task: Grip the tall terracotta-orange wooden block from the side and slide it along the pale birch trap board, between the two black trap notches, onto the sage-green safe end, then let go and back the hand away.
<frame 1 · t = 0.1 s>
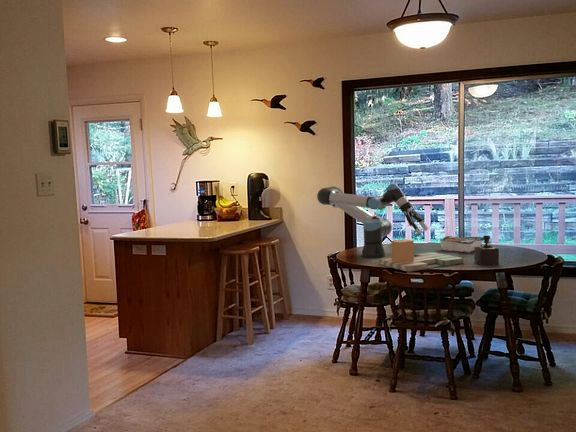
hand: (423, 231, 354), 15 cm above the table, fingers open, 13 cm apart
brown manual coffee grinder: (487, 264, 319), on the table
food packaging: (461, 249, 371), on the table
terracotta block: (402, 261, 323), point 3 cm above the table, touching trap board
trap board: (420, 263, 329), on the table
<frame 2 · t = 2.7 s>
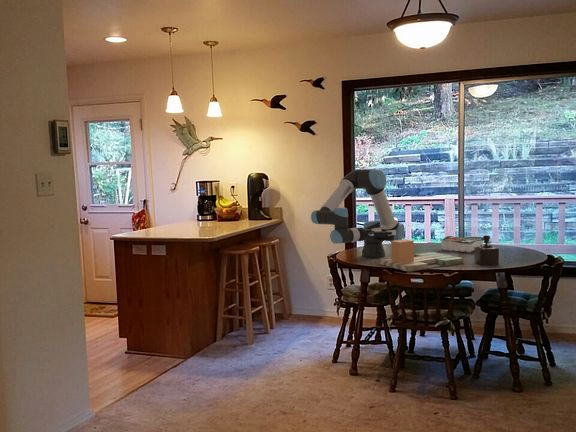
hand: (388, 231, 317), 22 cm above the table, fingers open, 13 cm apart
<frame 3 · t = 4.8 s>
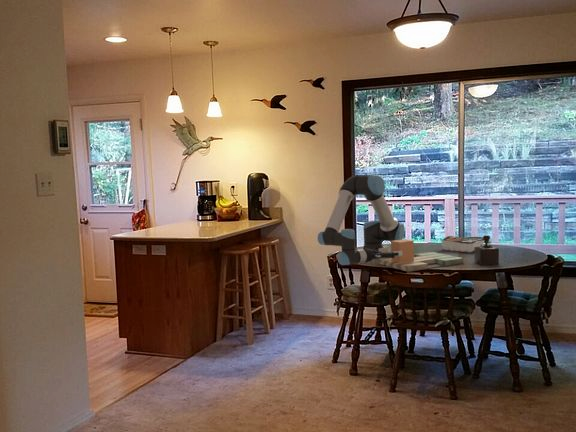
hand: (394, 251, 320), 9 cm above the table, fingers open, 13 cm apart
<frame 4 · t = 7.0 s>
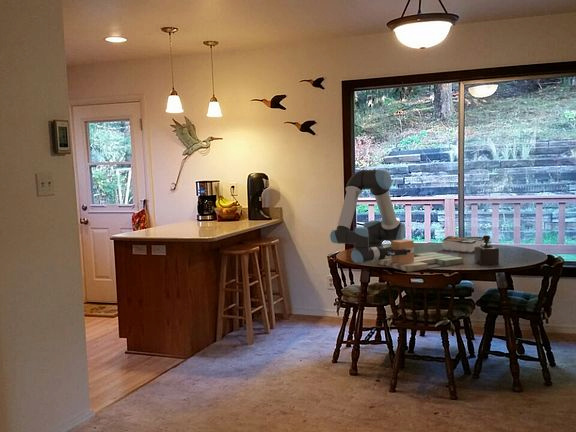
hand: (408, 249, 324), 10 cm above the table, fingers closed on terracotta block, 8 cm apart
terracotta block: (402, 261, 323), point 3 cm above the table, touching gripper, trap board
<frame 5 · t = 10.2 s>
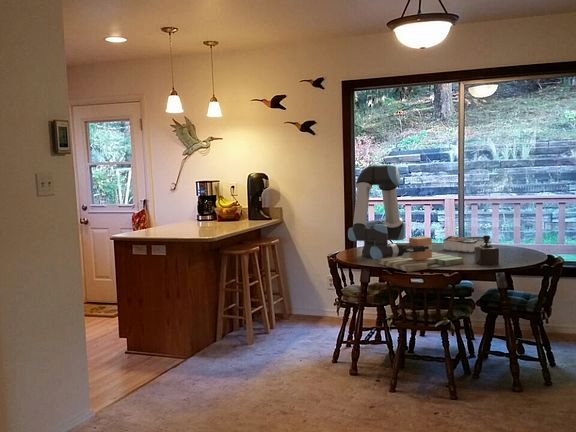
hand: (426, 245, 327), 11 cm above the table, fingers closed on terracotta block, 8 cm apart
terracotta block: (420, 257, 326), point 4 cm above the table, touching gripper
when the fingers open (11 cm above the table, at t = 13.3 s): terracotta block stays where it is, resting on trap board.
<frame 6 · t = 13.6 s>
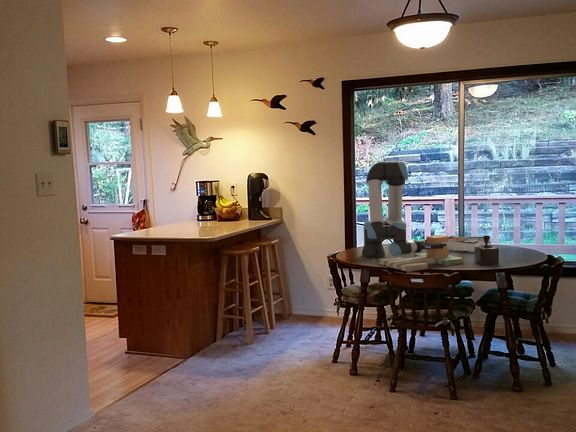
hand: (442, 242, 335), 11 cm above the table, fingers open, 11 cm apart
terracotta block: (437, 256, 334), point 3 cm above the table, touching trap board
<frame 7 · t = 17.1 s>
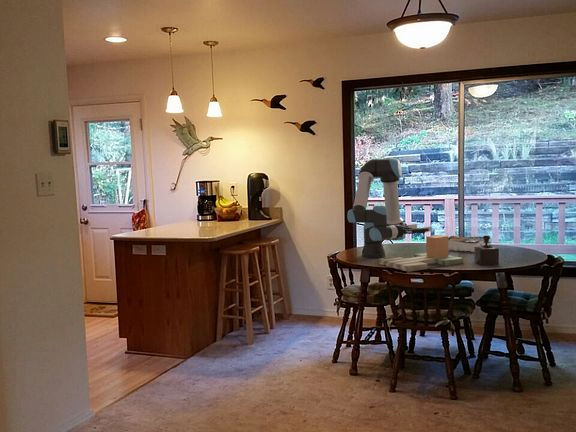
hand: (424, 227, 327), 21 cm above the table, fingers open, 13 cm apart
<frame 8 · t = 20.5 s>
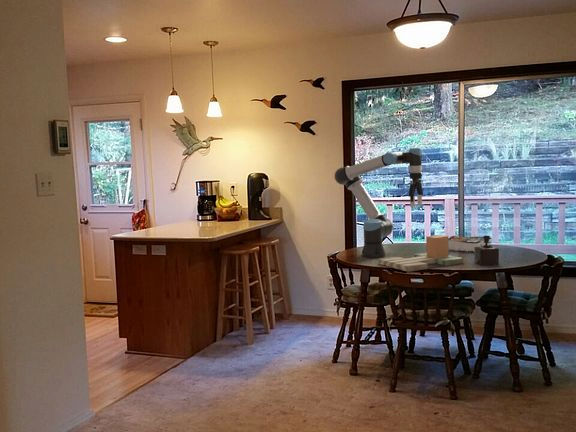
hand: (416, 206, 353), 32 cm above the table, fingers open, 13 cm apart
at the end: terracotta block inside the target area (1.2 cm from its centre), point 3.0 cm above the table; terracotta block tilted 0°; the gripper is holding nothing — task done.
